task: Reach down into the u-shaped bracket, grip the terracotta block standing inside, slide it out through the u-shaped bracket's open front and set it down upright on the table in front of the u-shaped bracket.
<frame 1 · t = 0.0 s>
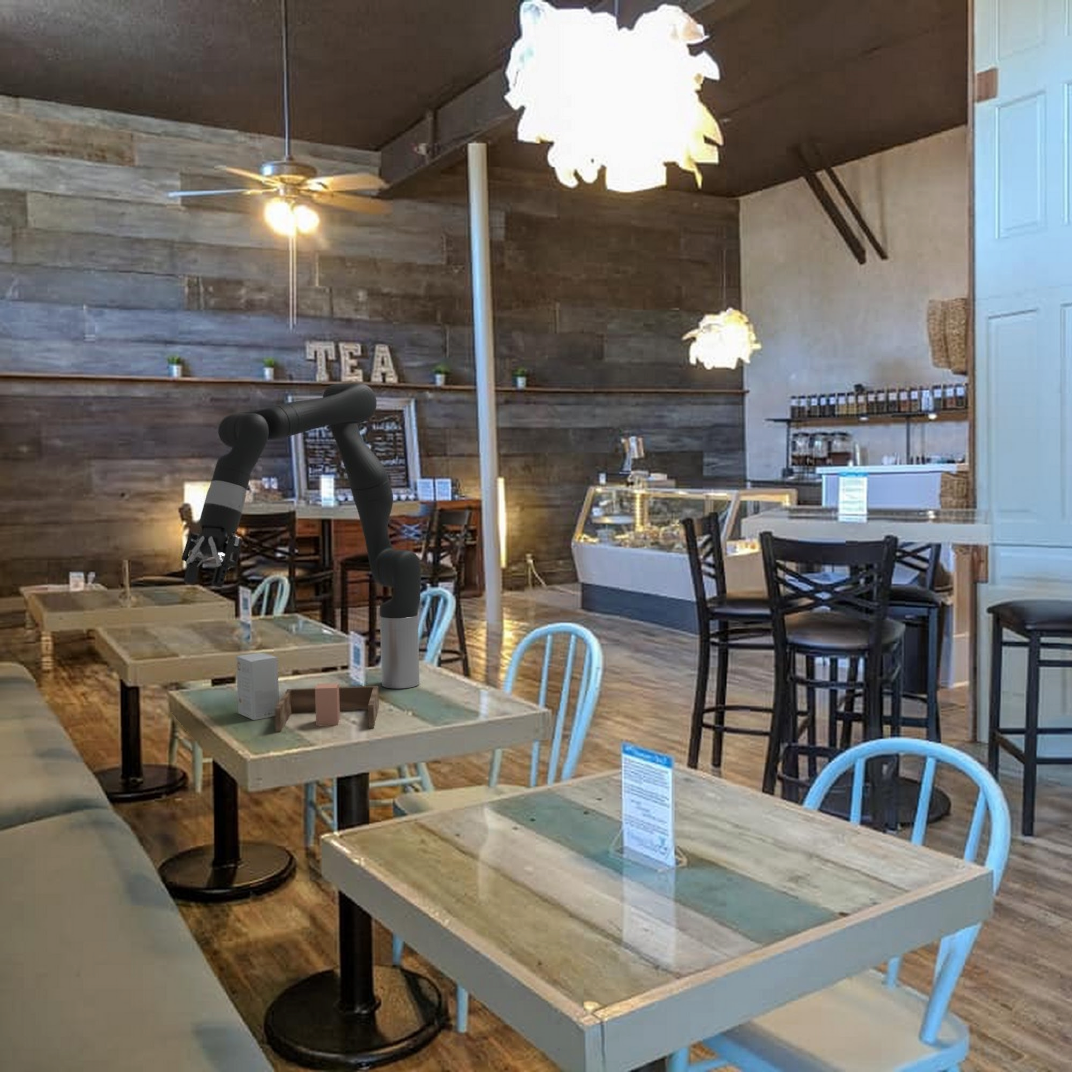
hand: (202, 585, 205), 31 cm above the table, tool tilted 20°, fingers open, 8 cm apart
u-shaped bracket: (329, 720, 222), on the table
terracotta block: (328, 722, 220), on the table
small box: (259, 715, 228), on the table
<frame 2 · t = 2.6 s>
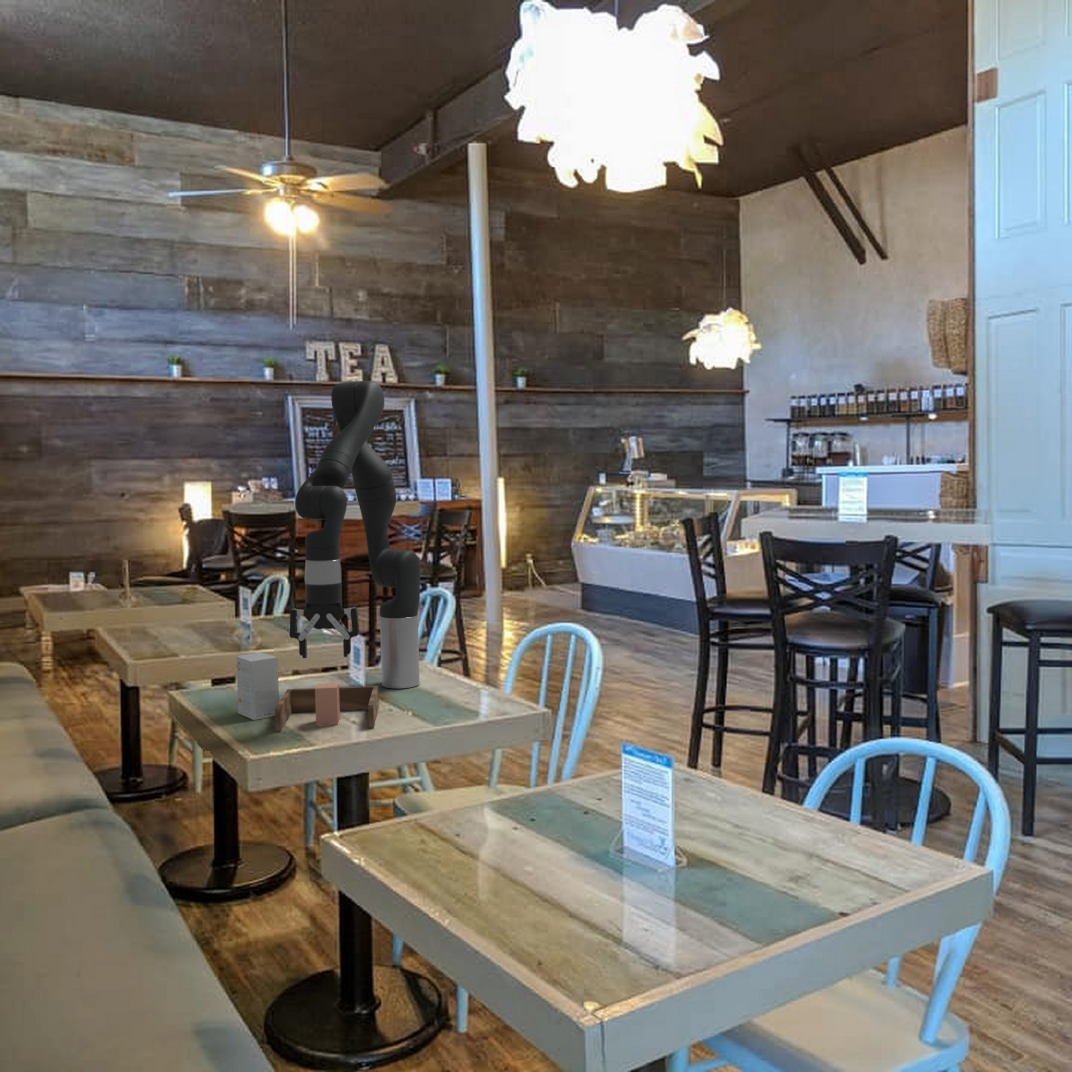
hand: (325, 657, 219), 14 cm above the table, tool pointing down, fingers open, 8 cm apart
nothing on the table moved.
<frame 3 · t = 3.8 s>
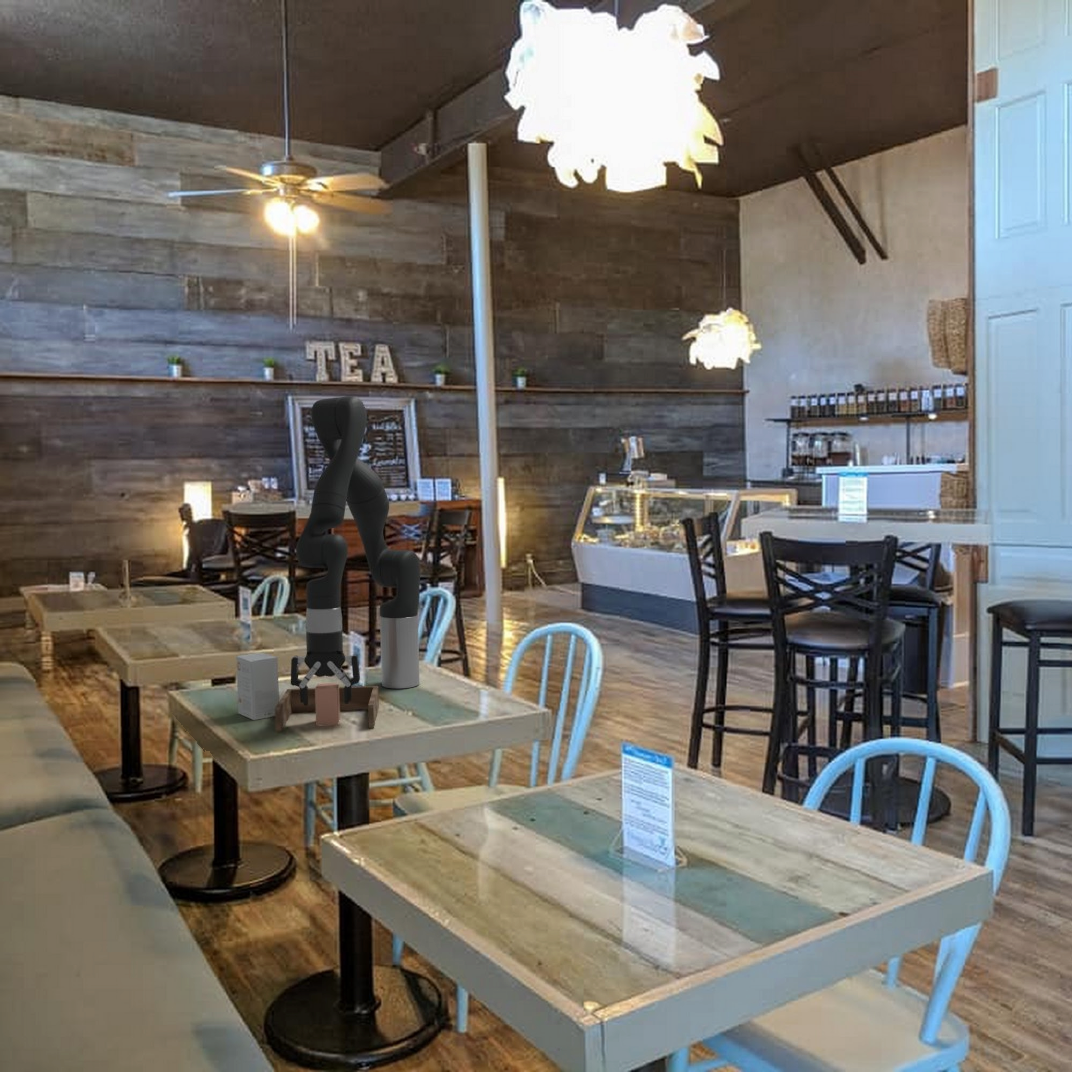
hand: (326, 704, 220), 4 cm above the table, tool pointing down, fingers open, 8 cm apart
nothing on the table moved.
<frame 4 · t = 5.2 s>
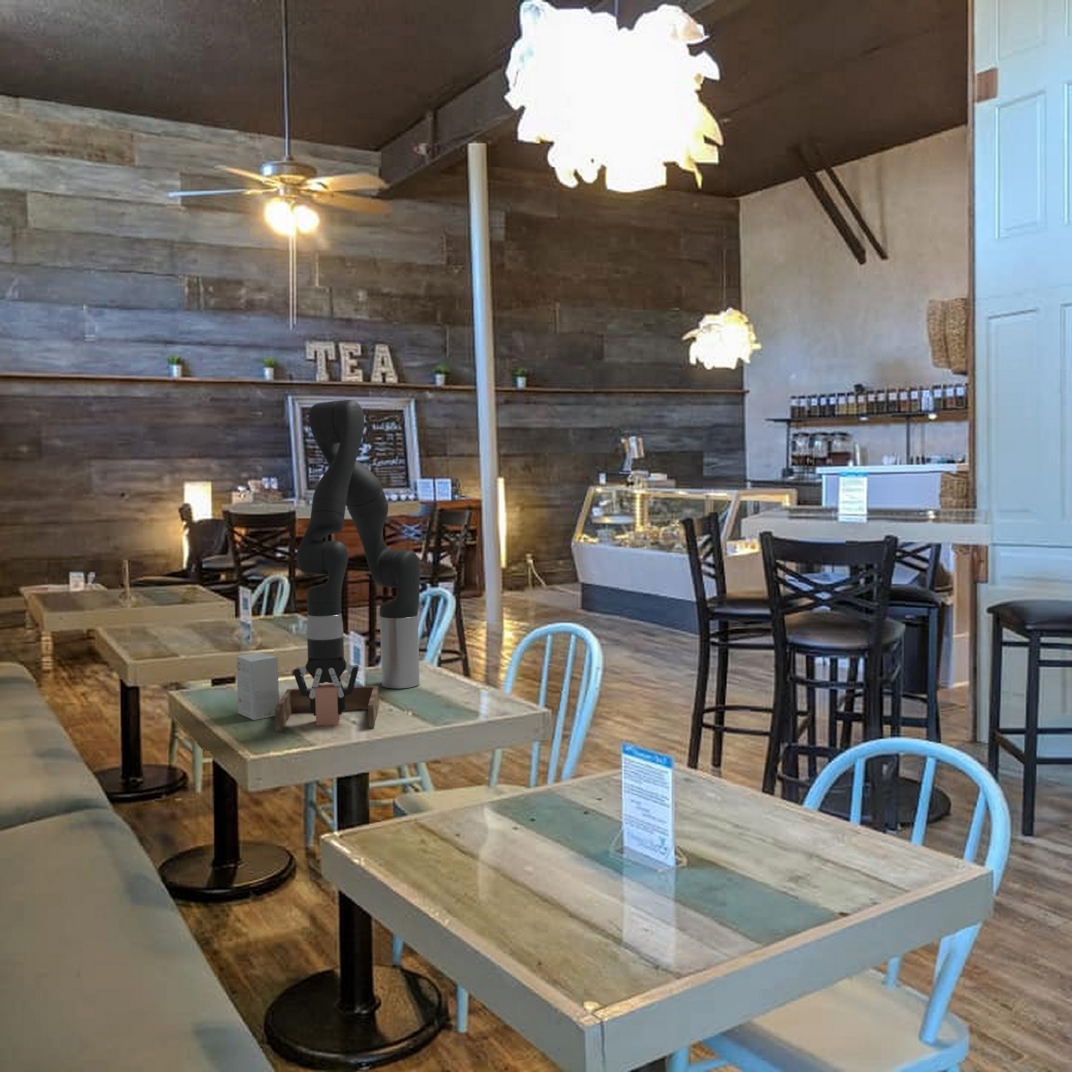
hand: (327, 714, 220), 2 cm above the table, tool pointing down, fingers closed on terracotta block, 4 cm apart
terracotta block: (328, 722, 220), on the table, touching gripper
everything else where it was.
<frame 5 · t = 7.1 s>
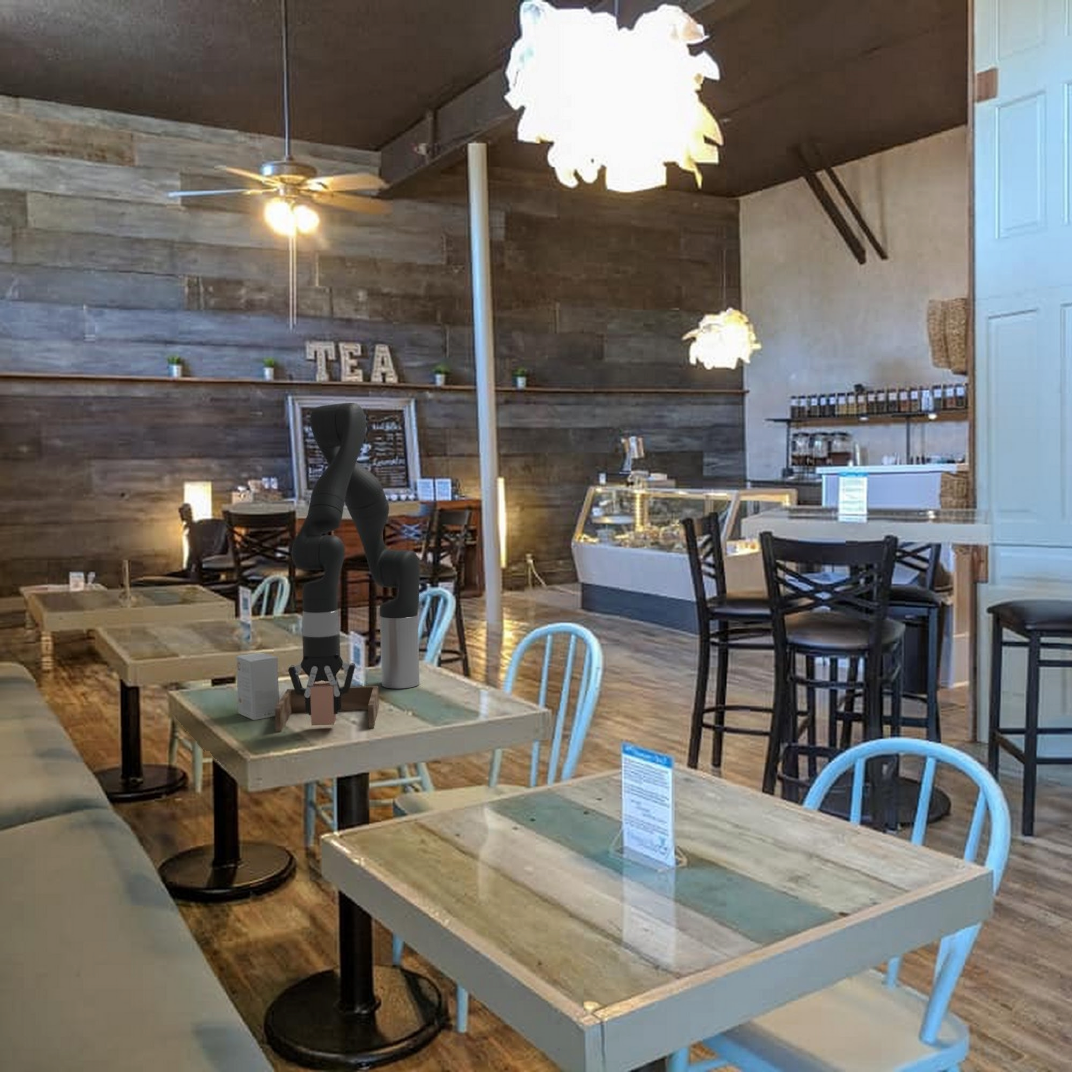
hand: (323, 713, 214), 3 cm above the table, tool pointing down, fingers closed on terracotta block, 4 cm apart
terracotta block: (323, 722, 214), point 2 cm above the table, touching gripper
everything else where it was.
when the fingers open (2 cm above the table, at t = 9.0 s): terracotta block stays where it is, on the table.
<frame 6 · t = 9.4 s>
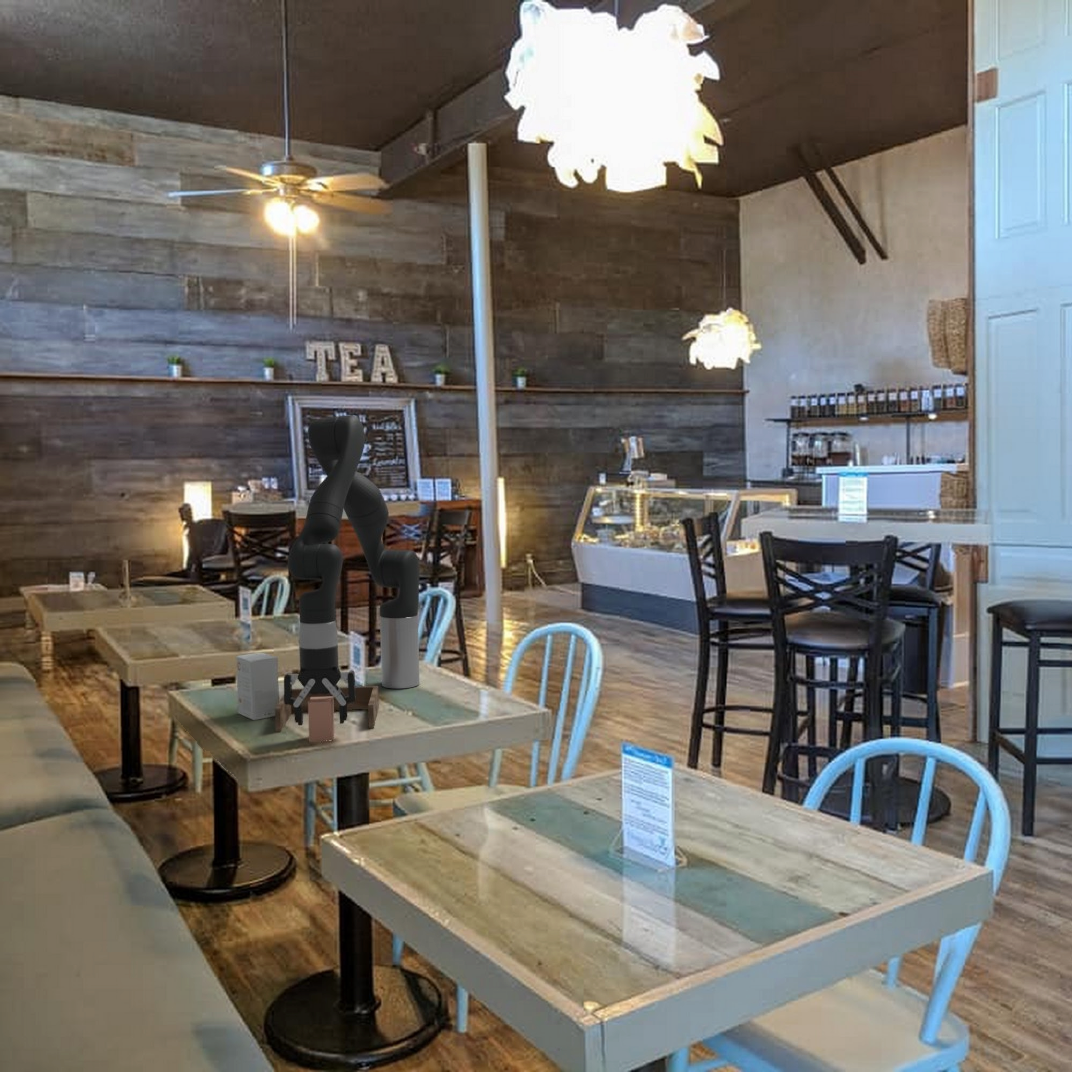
hand: (321, 723, 208), 3 cm above the table, tool pointing down, fingers open, 8 cm apart
terracotta block: (322, 738, 208), on the table
everything else where it was.
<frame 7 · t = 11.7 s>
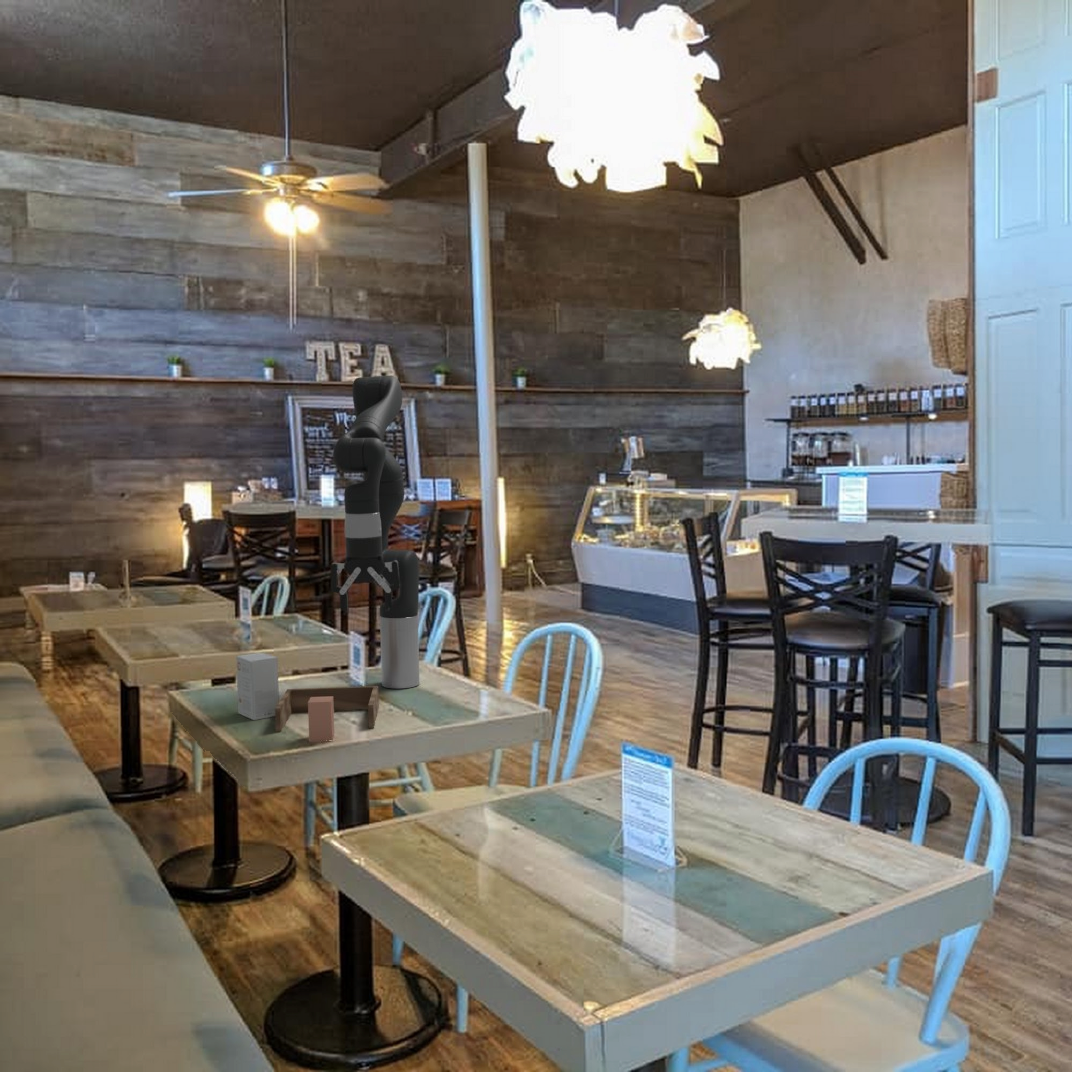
hand: (366, 610, 217), 24 cm above the table, tool pointing down, fingers open, 8 cm apart
nothing on the table moved.
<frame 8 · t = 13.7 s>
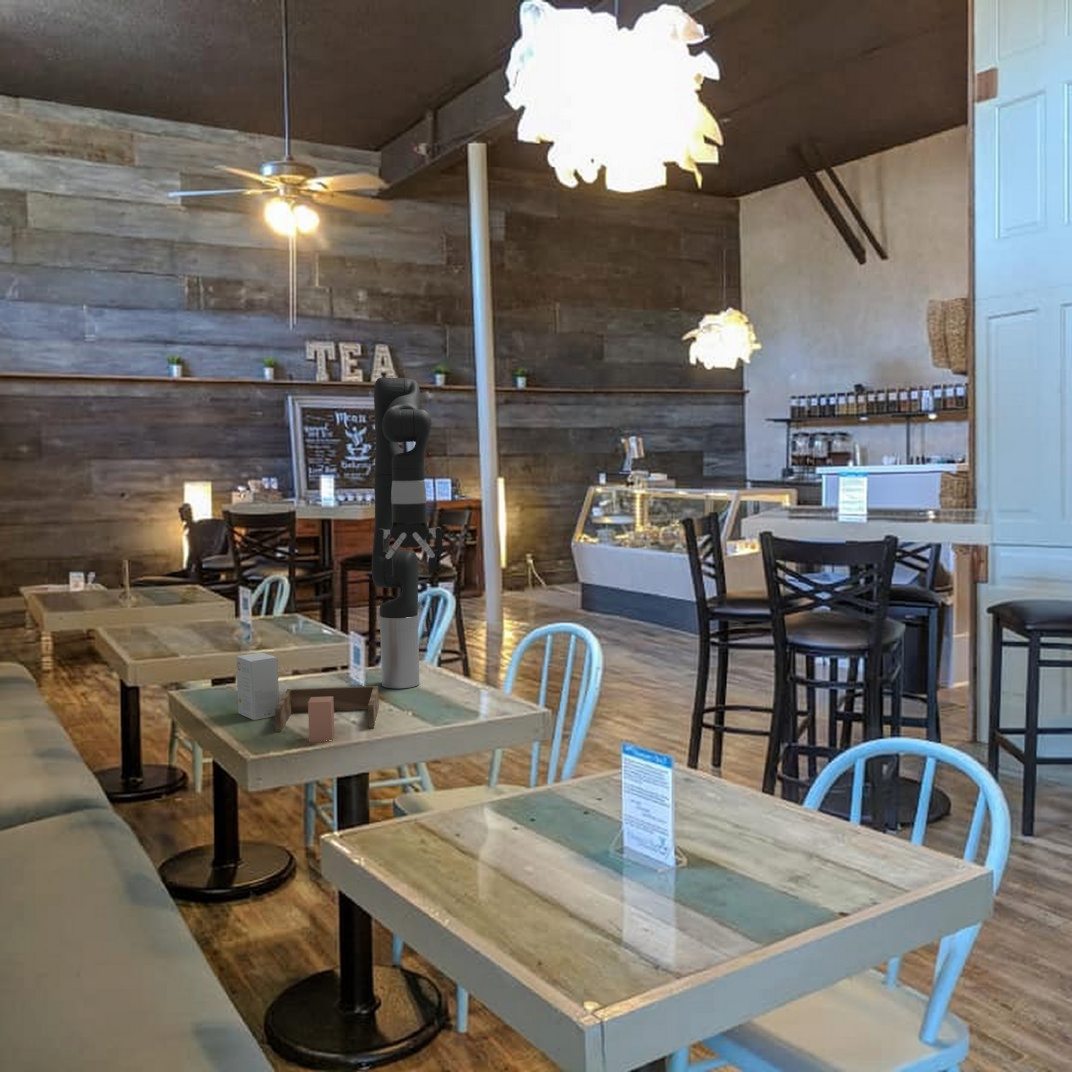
hand: (410, 575, 227), 30 cm above the table, tool pointing down, fingers open, 8 cm apart
nothing on the table moved.
at the end: terracotta block inside the target area (0.1 cm from its centre), on the table; terracotta block tilted 0°; the gripper is holding nothing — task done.
